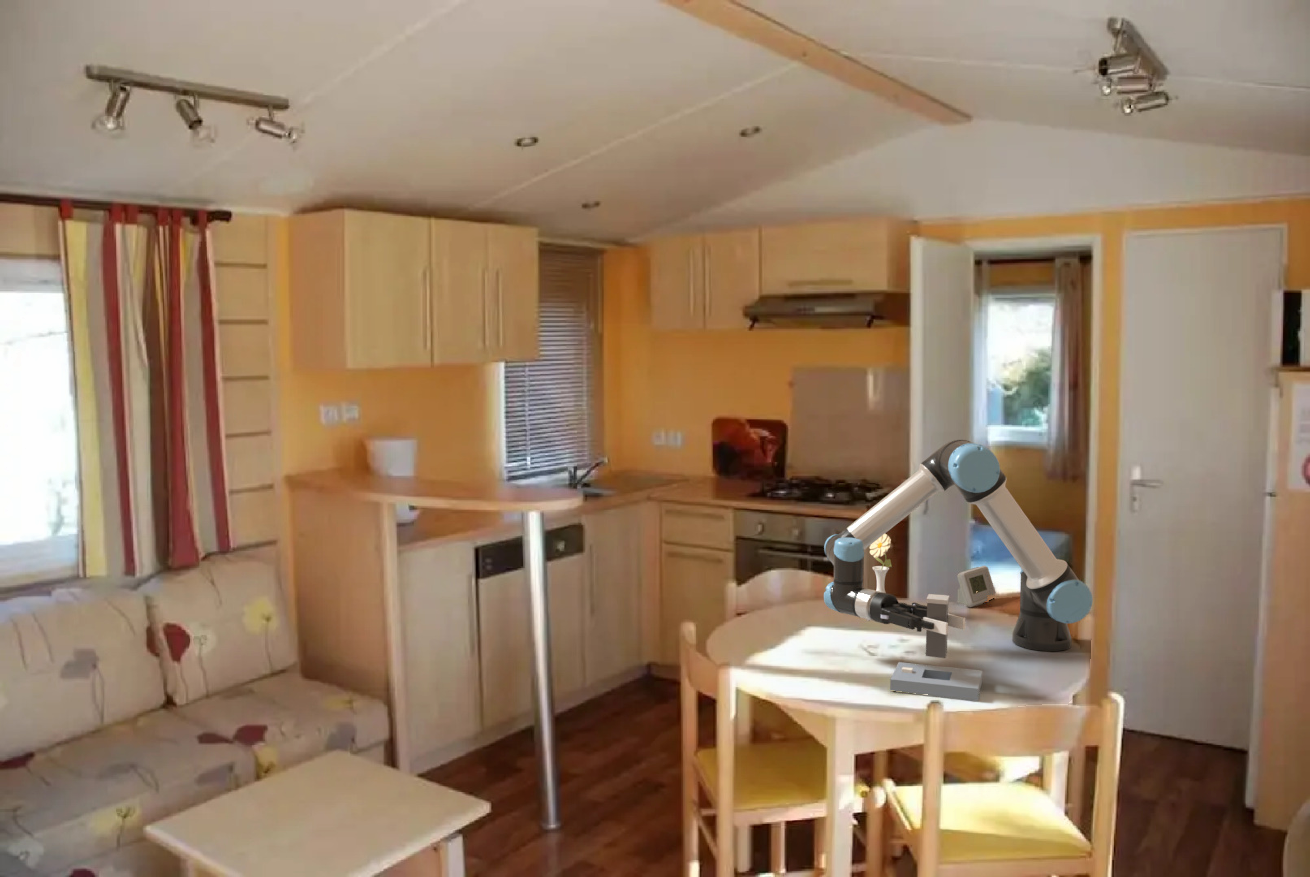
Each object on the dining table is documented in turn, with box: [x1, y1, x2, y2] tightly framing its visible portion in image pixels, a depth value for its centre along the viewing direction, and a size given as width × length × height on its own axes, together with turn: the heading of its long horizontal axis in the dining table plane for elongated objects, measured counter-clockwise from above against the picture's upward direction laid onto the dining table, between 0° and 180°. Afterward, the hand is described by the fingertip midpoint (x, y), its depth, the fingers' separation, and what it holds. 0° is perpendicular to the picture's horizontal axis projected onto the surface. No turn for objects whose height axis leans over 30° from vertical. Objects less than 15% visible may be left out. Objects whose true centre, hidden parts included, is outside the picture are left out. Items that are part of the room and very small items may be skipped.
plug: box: [925, 593, 950, 659], centre depth 256 cm, size 5×5×14 cm
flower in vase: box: [869, 533, 893, 593], centre depth 323 cm, size 13×11×25 cm
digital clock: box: [956, 565, 996, 608], centre depth 336 cm, size 16×9×11 cm, turn 122°
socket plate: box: [889, 661, 983, 702], centre depth 257 cm, size 20×14×4 cm
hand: (955, 626), depth 252 cm, fingers closed on plug, 6 cm apart
